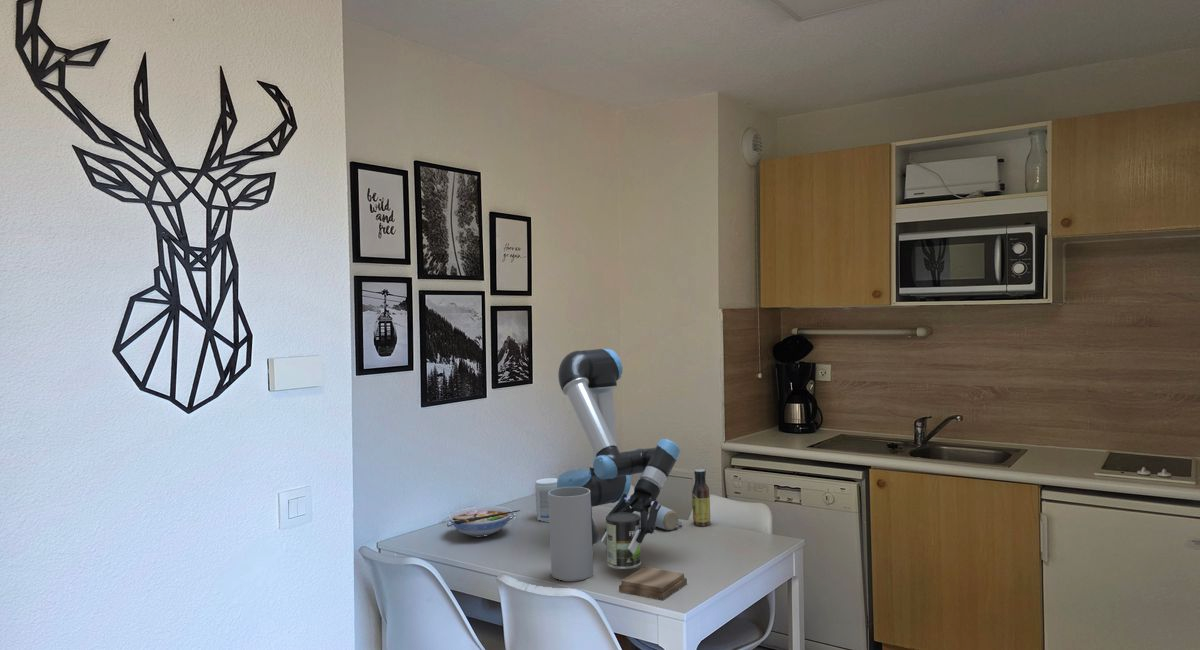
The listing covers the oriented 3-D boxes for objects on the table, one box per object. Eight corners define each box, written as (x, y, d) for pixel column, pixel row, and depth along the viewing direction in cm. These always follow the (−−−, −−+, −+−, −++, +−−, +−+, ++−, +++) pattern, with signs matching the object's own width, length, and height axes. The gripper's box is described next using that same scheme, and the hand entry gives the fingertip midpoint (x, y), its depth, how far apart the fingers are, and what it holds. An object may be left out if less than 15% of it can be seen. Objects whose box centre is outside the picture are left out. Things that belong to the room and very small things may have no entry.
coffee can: (647, 560, 238) (646, 514, 237) (630, 571, 229) (629, 523, 228) (617, 555, 243) (616, 510, 242) (600, 565, 234) (599, 519, 233)
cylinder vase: (596, 568, 239) (593, 486, 239) (589, 582, 227) (586, 496, 226) (556, 567, 241) (553, 486, 241) (547, 581, 229) (543, 496, 229)
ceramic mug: (664, 533, 274) (664, 511, 274) (649, 528, 281) (649, 506, 280) (687, 527, 280) (686, 506, 280) (672, 523, 287) (671, 502, 287)
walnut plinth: (619, 591, 219) (618, 580, 219) (644, 576, 231) (643, 565, 231) (663, 600, 212) (662, 589, 212) (686, 583, 223) (686, 573, 223)
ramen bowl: (499, 521, 297) (498, 499, 297) (527, 534, 278) (526, 511, 278) (436, 533, 283) (435, 511, 283) (461, 548, 264) (460, 524, 264)
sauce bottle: (694, 521, 287) (692, 467, 286) (711, 522, 285) (710, 468, 284) (691, 526, 280) (689, 471, 280) (709, 527, 278) (707, 471, 278)
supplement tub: (567, 518, 298) (565, 479, 297) (548, 524, 291) (546, 484, 291) (550, 514, 304) (549, 476, 304) (531, 519, 298) (530, 481, 298)
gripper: (684, 497, 238) (652, 562, 228) (628, 485, 254) (595, 545, 243) (673, 483, 234) (640, 549, 224) (617, 472, 250) (583, 533, 239)
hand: (617, 547), depth 233 cm, fingers closed on coffee can, 10 cm apart
